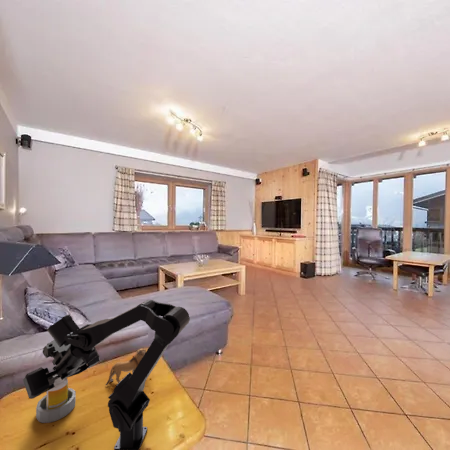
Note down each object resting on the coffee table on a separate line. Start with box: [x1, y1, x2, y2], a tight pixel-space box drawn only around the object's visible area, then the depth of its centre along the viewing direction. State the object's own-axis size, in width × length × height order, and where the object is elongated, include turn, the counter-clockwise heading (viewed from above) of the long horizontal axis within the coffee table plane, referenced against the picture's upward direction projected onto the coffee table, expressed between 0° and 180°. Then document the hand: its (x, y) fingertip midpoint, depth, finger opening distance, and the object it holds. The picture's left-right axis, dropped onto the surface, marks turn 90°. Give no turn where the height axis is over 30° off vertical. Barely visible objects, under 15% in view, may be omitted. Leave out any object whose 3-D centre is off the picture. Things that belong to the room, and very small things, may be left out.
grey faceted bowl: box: [35, 387, 77, 424], centre depth 72 cm, size 10×10×3 cm
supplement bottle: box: [45, 377, 69, 410], centre depth 72 cm, size 5×5×10 cm
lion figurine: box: [105, 348, 147, 386], centre depth 87 cm, size 15×5×9 cm, turn 131°
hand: (55, 381), depth 72 cm, fingers closed on supplement bottle, 5 cm apart
